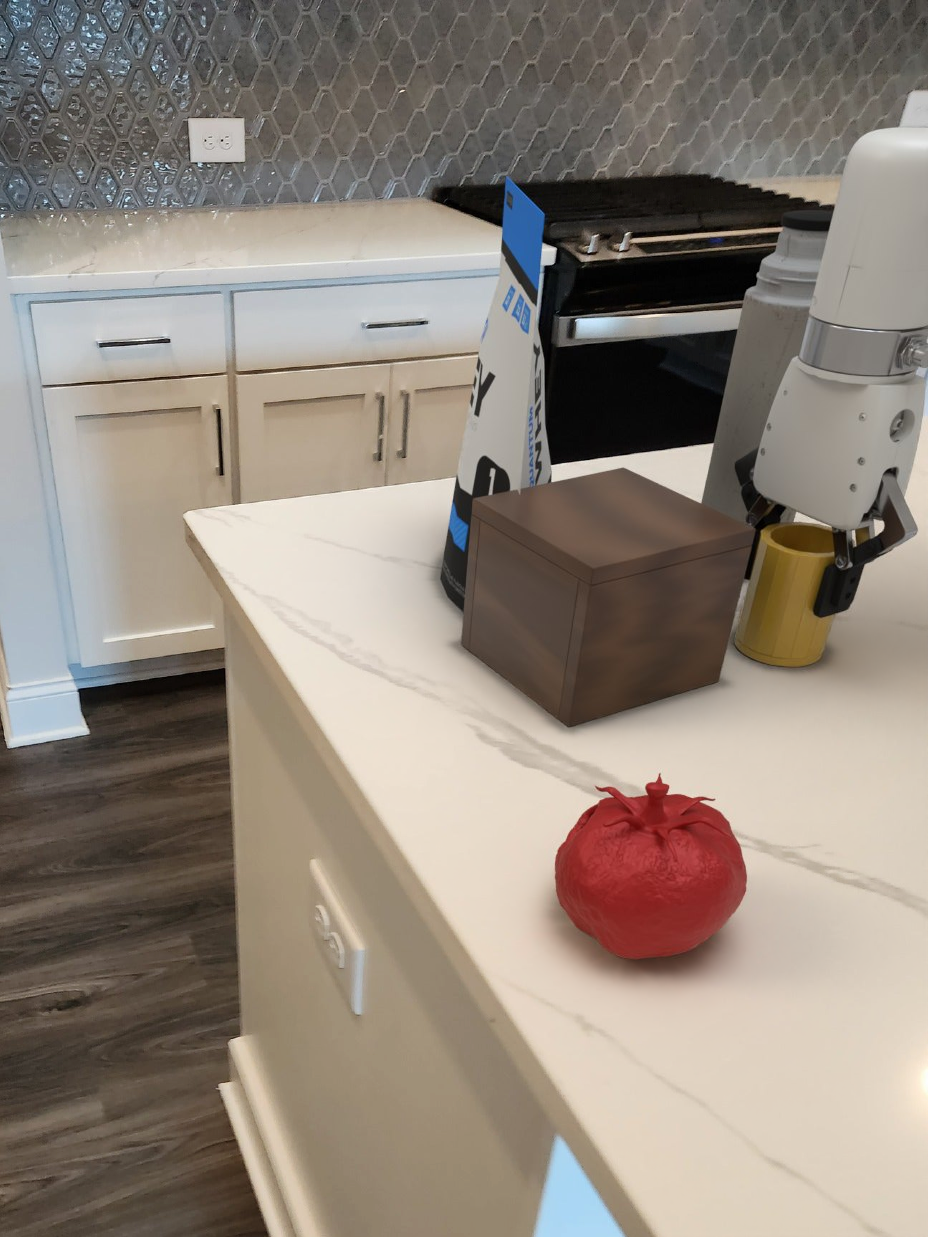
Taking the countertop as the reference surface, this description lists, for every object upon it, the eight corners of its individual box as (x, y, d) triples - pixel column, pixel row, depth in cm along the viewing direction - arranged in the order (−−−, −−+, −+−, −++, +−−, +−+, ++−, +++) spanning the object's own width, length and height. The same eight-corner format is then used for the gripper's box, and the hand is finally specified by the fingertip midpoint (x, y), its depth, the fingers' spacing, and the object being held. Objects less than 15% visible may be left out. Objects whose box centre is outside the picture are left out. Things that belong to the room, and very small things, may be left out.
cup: (777, 621, 91) (806, 515, 85) (841, 655, 86) (875, 545, 81) (716, 638, 88) (741, 531, 83) (778, 674, 84) (809, 563, 78)
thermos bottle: (747, 538, 104) (829, 201, 87) (800, 572, 98) (898, 217, 81) (673, 548, 102) (741, 207, 86) (722, 583, 96) (806, 223, 79)
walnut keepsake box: (600, 608, 93) (623, 466, 86) (719, 681, 83) (756, 528, 76) (460, 644, 88) (472, 498, 81) (568, 727, 78) (593, 568, 71)
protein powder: (530, 530, 107) (564, 174, 90) (567, 640, 88) (618, 212, 70) (433, 531, 108) (448, 177, 90) (447, 641, 88) (469, 216, 71)
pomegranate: (767, 954, 60) (813, 816, 54) (606, 1000, 57) (637, 860, 51) (661, 847, 67) (692, 716, 61) (515, 884, 64) (533, 751, 59)
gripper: (1016, 370, 69) (922, 629, 80) (802, 313, 81) (746, 544, 92) (932, 387, 66) (847, 652, 77) (725, 325, 78) (676, 561, 89)
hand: (792, 591), depth 84 cm, fingers closed on cup, 6 cm apart
